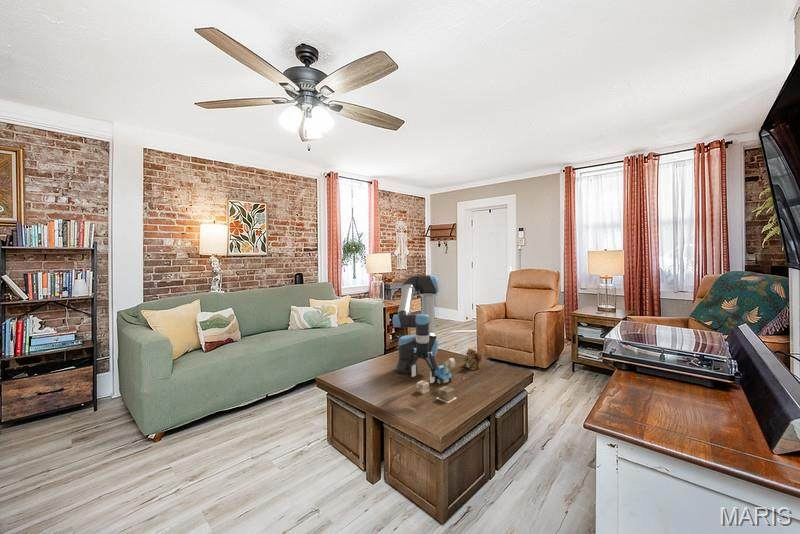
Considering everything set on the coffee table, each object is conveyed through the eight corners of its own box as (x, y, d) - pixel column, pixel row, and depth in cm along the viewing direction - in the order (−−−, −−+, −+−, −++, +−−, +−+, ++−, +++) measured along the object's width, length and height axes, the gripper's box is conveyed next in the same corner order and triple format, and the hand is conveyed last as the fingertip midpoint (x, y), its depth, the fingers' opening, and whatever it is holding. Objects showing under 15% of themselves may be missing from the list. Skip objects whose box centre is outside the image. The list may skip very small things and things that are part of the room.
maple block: (416, 393, 188) (416, 382, 188) (422, 390, 192) (422, 380, 191) (423, 395, 184) (423, 385, 184) (429, 393, 188) (429, 382, 188)
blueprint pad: (426, 397, 182) (426, 395, 182) (441, 389, 192) (441, 387, 192) (450, 406, 171) (450, 404, 171) (465, 397, 181) (465, 396, 181)
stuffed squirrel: (460, 367, 229) (459, 348, 228) (474, 363, 237) (474, 344, 236) (470, 371, 221) (470, 351, 220) (485, 367, 228) (485, 348, 228)
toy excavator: (446, 390, 191) (446, 360, 191) (431, 380, 206) (430, 353, 205) (458, 387, 195) (458, 358, 195) (442, 377, 210) (442, 351, 209)
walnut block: (438, 398, 179) (438, 389, 179) (445, 394, 183) (445, 385, 183) (447, 401, 175) (447, 392, 174) (454, 397, 179) (454, 388, 179)
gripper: (401, 339, 193) (402, 375, 193) (435, 347, 175) (435, 387, 176) (410, 337, 198) (411, 372, 199) (444, 344, 180) (444, 383, 181)
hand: (422, 379), depth 187 cm, fingers open, 13 cm apart
